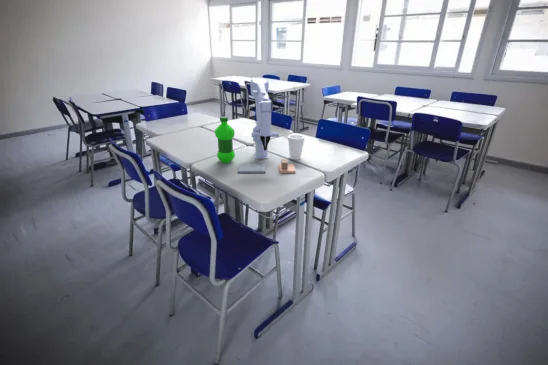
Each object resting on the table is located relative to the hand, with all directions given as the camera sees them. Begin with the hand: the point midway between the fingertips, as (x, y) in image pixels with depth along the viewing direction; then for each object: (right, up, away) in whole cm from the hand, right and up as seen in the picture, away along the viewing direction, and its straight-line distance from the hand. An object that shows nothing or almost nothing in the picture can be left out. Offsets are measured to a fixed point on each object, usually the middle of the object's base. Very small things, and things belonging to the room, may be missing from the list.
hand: (265, 149), depth 151 cm
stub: (+12, -10, 0) cm, 16 cm away
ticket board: (-7, -11, -1) cm, 13 cm away
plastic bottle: (-22, -6, +10) cm, 25 cm away
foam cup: (+17, -3, +17) cm, 24 cm away
